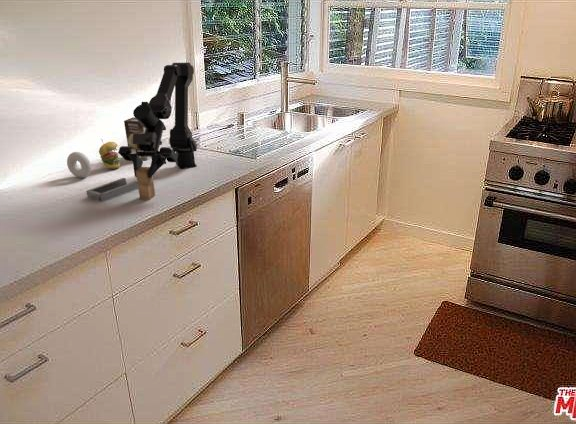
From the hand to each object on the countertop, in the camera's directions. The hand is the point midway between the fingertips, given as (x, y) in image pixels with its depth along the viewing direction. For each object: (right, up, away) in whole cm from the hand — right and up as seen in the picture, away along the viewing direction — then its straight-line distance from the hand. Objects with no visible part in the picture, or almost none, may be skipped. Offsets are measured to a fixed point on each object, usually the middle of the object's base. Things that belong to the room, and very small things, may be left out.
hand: (142, 177), depth 162 cm
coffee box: (-14, +11, +47) cm, 50 cm away
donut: (-30, +2, +26) cm, 40 cm away
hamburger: (-22, +6, +35) cm, 42 cm away
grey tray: (-13, -5, +9) cm, 16 cm away
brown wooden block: (+1, -6, +4) cm, 8 cm away
